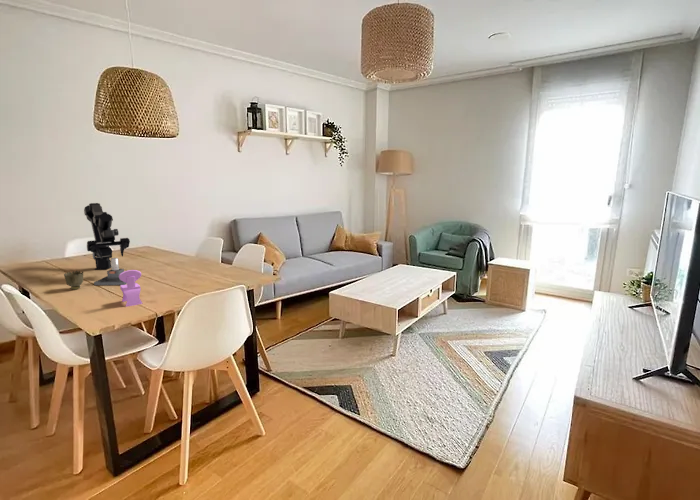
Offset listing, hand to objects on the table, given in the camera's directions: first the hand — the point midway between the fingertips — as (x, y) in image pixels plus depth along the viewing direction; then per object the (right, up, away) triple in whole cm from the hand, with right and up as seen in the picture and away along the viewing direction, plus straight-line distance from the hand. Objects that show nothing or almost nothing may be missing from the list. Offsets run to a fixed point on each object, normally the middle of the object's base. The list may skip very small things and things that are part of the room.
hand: (112, 257), depth 191 cm
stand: (+3, -12, -1) cm, 13 cm away
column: (+3, -12, -1) cm, 13 cm away
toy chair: (+29, -19, -31) cm, 47 cm away
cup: (-8, -15, -15) cm, 23 cm away
